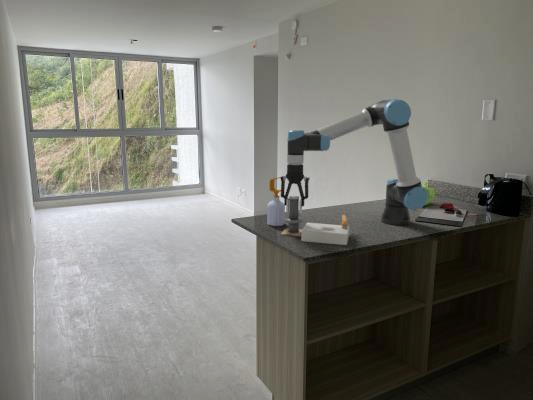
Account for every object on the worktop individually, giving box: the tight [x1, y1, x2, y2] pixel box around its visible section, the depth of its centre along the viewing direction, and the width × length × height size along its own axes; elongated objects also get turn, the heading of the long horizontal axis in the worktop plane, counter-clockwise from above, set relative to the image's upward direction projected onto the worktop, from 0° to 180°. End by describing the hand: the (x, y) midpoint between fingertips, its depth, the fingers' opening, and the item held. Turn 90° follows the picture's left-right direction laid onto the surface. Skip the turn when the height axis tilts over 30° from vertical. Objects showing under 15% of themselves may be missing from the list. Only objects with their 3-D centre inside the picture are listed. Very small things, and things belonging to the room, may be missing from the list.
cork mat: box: [280, 227, 303, 237], centre depth 196 cm, size 10×10×1 cm
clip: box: [341, 214, 348, 226], centre depth 192 cm, size 15×3×1 cm, turn 171°
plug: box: [284, 195, 304, 233], centre depth 194 cm, size 9×9×17 cm
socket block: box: [300, 222, 350, 246], centre depth 187 cm, size 20×14×6 cm
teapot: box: [421, 181, 437, 207], centre depth 263 cm, size 19×20×14 cm
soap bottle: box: [266, 176, 286, 227], centre depth 209 cm, size 9×9×25 cm
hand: (294, 212), depth 194 cm, fingers open, 5 cm apart
